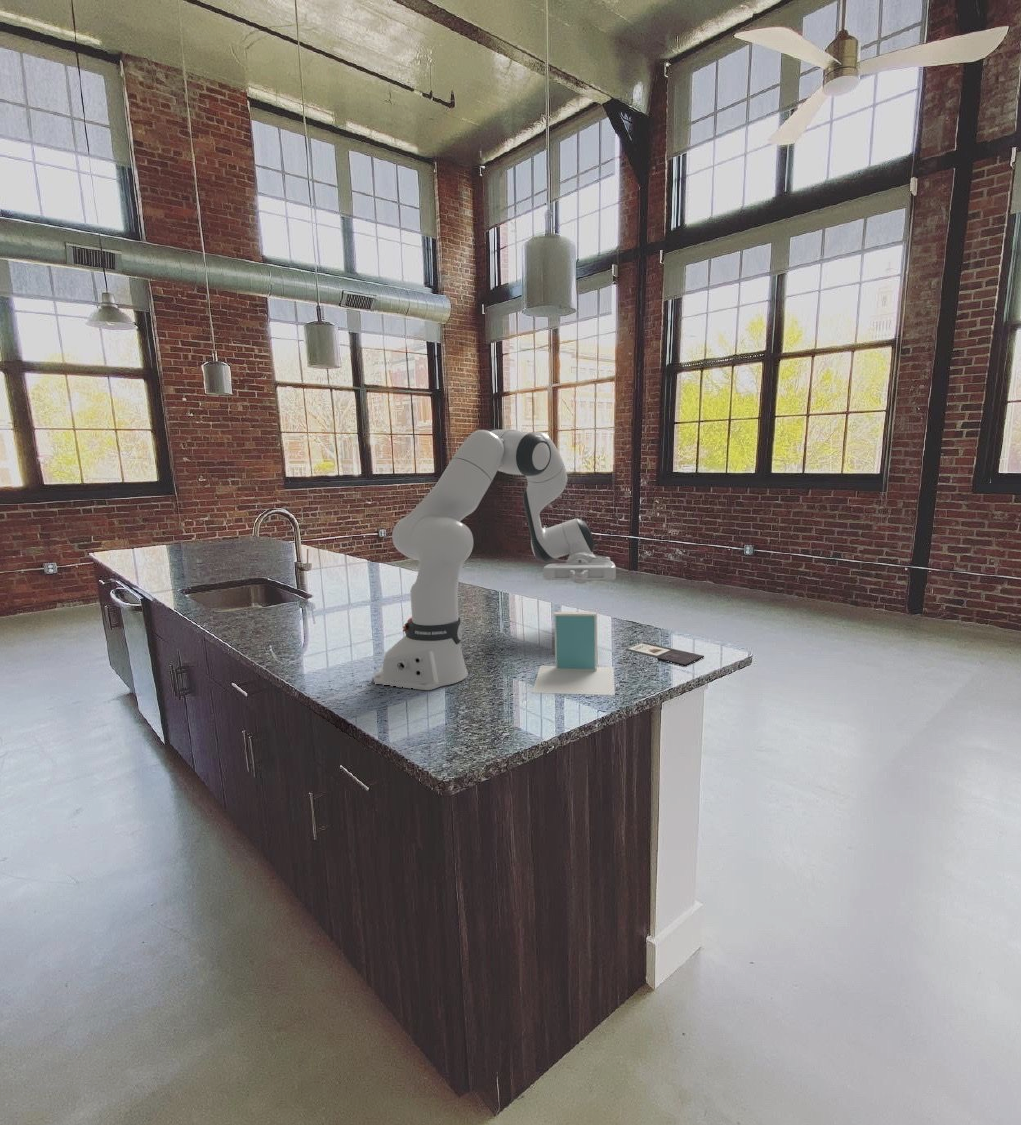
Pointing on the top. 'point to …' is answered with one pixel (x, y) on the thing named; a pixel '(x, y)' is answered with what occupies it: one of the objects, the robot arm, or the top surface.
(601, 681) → the mat
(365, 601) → the top surface
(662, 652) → the chocolate bar
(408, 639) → the robot arm
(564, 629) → the tile
